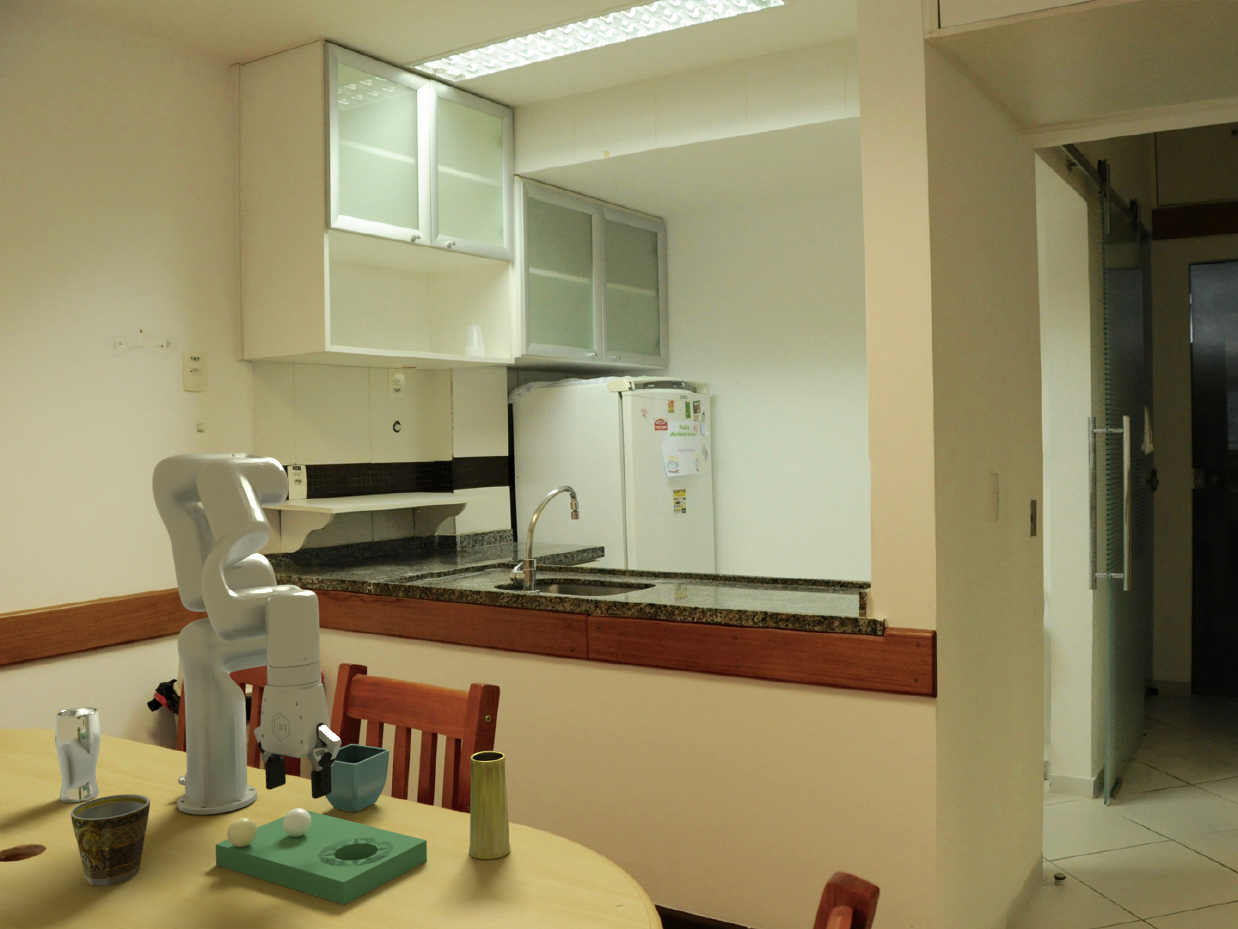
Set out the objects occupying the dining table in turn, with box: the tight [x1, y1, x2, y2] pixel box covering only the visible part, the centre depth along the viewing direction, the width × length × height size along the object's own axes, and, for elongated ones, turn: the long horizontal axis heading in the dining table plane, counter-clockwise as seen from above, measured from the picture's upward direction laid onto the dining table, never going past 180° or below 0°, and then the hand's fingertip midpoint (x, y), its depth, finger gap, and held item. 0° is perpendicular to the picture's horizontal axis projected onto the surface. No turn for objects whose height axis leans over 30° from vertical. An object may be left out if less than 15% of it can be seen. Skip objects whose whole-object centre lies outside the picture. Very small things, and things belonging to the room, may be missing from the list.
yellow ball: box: [226, 817, 258, 847], centre depth 145 cm, size 4×4×4 cm
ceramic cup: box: [70, 793, 151, 887], centre depth 141 cm, size 13×10×10 cm
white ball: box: [283, 807, 311, 837], centre depth 148 cm, size 4×4×4 cm
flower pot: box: [317, 743, 390, 813], centre depth 169 cm, size 9×9×9 cm
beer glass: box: [54, 706, 101, 804], centre depth 175 cm, size 7×7×15 cm
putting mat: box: [215, 809, 428, 906], centre depth 146 cm, size 26×16×3 cm, turn 59°
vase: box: [468, 750, 511, 861], centre depth 149 cm, size 6×6×14 cm
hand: (298, 791), depth 148 cm, fingers open, 9 cm apart
